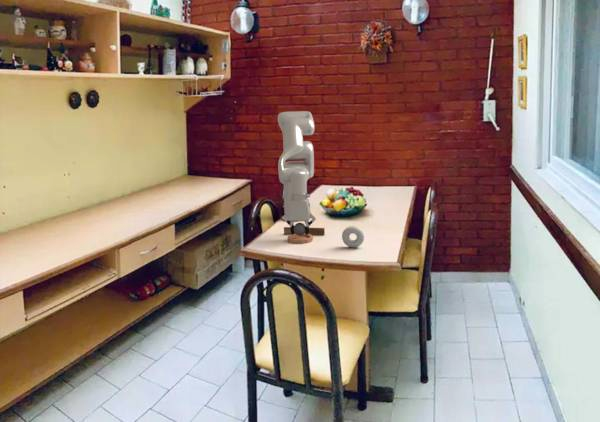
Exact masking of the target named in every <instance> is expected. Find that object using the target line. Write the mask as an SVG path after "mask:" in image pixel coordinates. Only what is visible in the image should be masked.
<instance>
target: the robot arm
mask: <svg viewBox="0 0 600 422" xmlns="http://www.w3.org/2000/svg"><path fill="white" fill-rule="evenodd" d="M277 123H278V126H279V128H280V130H281V132H282V140H283V141H282V143H283V147H282V148H283V152H282V153H281V155H280V156H279V158H278V159H279V160H278V165H277V168H278V171H277V172H278V179H279V182H280V183H281V184H283V201H284V202H283V205H284V206H283V207H284V209H283V210H284V211H283V212H284V215H283V216H281V220H282V219H283V220H282V221H285V223H286V224H287V225H288V226H289V227H291V233H292V235H294V233H295V232H294V226H295V224H294V223H295V222H303V223H304V225H305V226H306V227H305V234H306V235H308V233H309V228H310V226H311V225H312V224H313V223H314V222H315V221H316V220H317V218H316V217H315V216H314V214H312V211H311V202H310V199H309V198H311V194H308V191H307V190H308V185H307V183H308V180H309V179H312V178H313V177H314V174H315V153H314V145H313V143H312V141H309V140H304V137H303V136H312V135H314V133H315V120H314V117H313V115H312V113H311V112H310V111H306V110H304V111H302V110H299V111H283V112H279V114H278V115H277ZM287 160H289V161H287ZM291 160H293V161H291ZM310 219H311V220H310Z"/></svg>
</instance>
